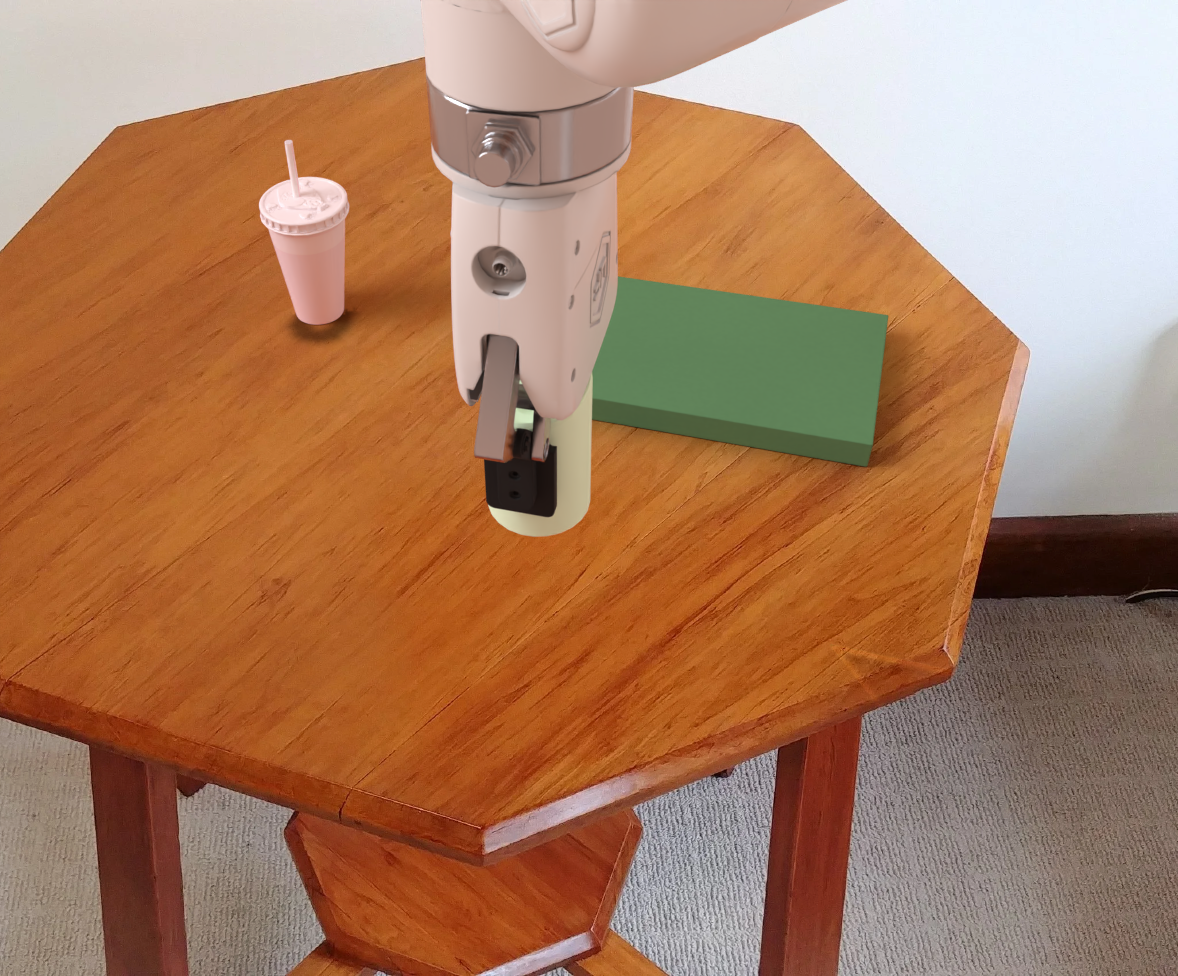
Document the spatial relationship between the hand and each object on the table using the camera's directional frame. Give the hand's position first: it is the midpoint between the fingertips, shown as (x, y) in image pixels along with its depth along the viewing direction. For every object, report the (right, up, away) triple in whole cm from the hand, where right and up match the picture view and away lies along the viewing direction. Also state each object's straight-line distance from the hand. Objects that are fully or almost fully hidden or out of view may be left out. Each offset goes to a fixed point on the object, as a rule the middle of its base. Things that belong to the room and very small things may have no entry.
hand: (536, 466), depth 58 cm
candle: (0, -2, +2) cm, 3 cm away
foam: (+15, +7, +29) cm, 33 cm away
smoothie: (-14, +12, +36) cm, 41 cm away
